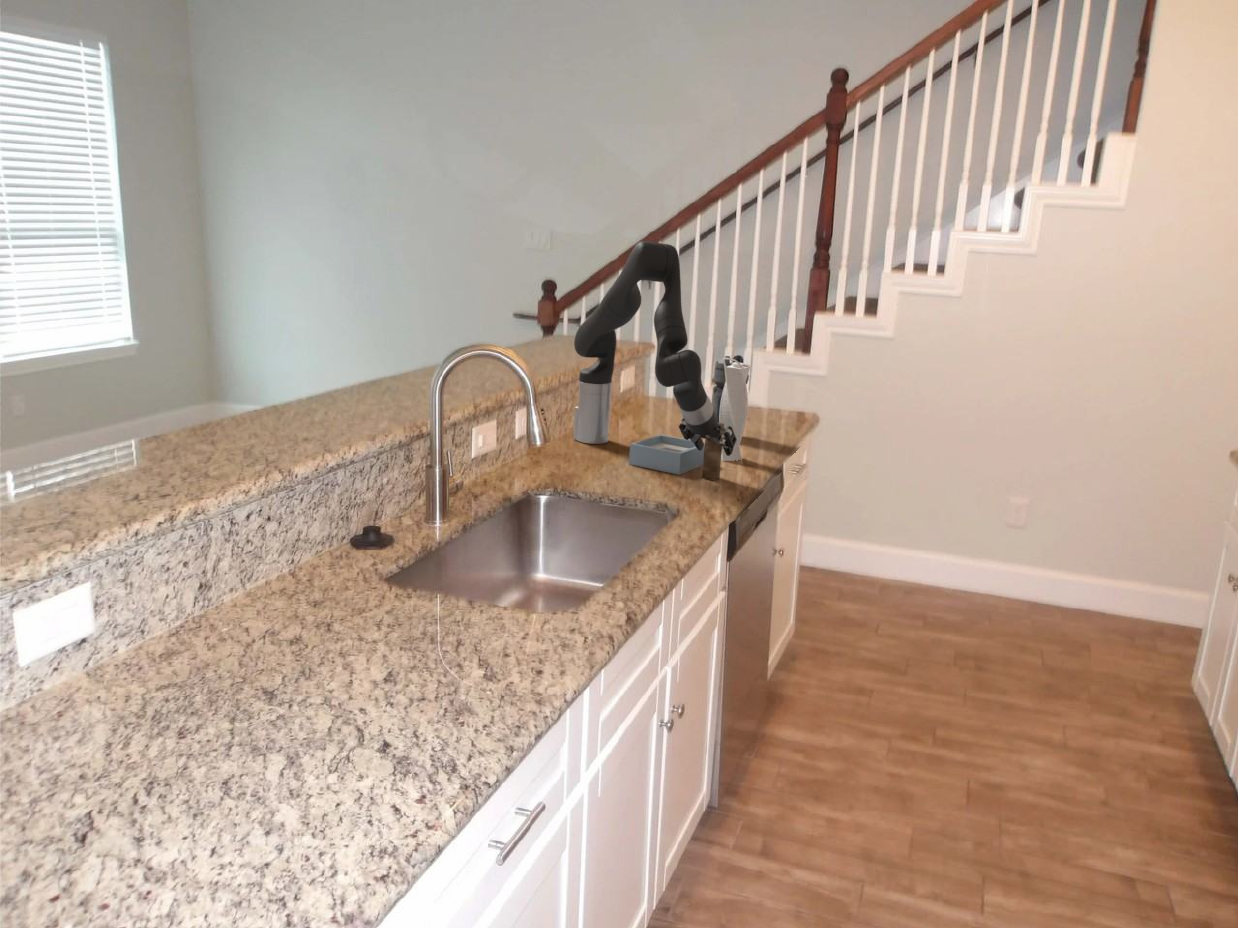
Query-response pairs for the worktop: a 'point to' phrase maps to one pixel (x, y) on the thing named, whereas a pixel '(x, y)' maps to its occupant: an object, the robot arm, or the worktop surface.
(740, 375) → the skyscraper
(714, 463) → the peg
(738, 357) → the dark tall piece
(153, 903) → the worktop surface
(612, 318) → the robot arm
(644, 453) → the box
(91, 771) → the worktop surface
